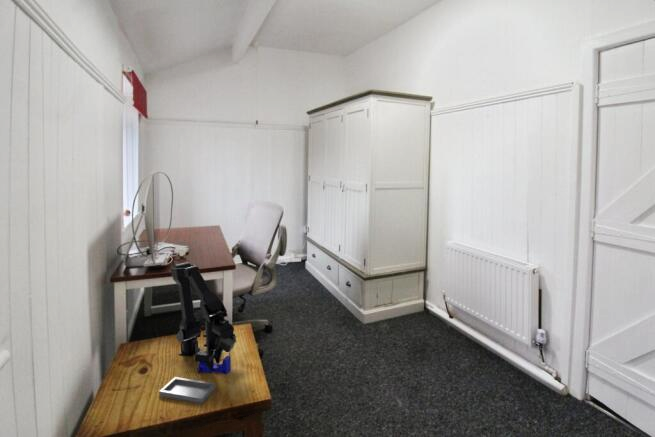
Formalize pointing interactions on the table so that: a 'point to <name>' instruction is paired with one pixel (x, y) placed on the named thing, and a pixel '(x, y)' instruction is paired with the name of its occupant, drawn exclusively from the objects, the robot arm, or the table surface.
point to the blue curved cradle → (217, 366)
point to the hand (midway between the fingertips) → (214, 366)
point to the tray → (187, 390)
